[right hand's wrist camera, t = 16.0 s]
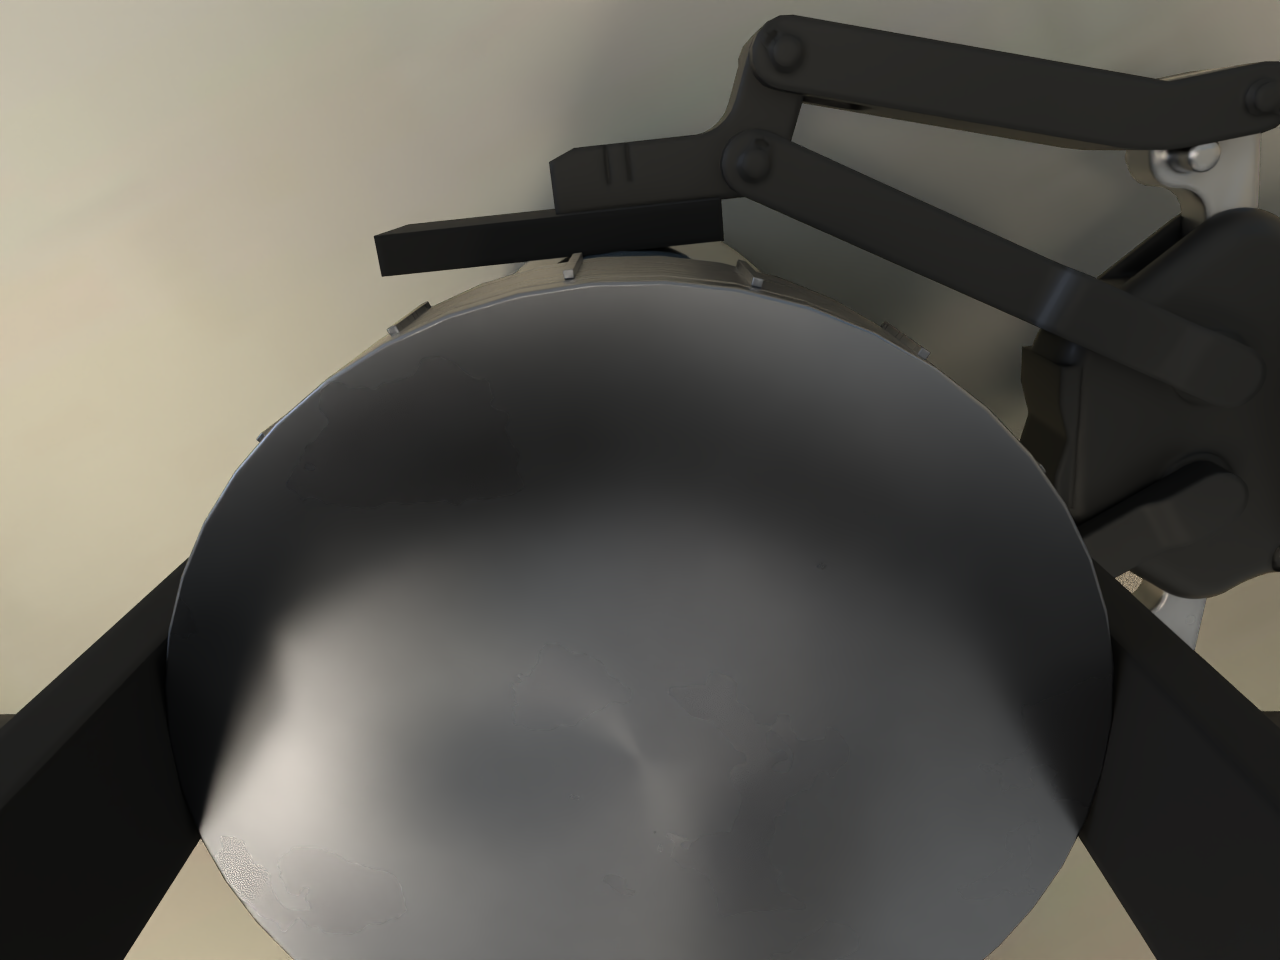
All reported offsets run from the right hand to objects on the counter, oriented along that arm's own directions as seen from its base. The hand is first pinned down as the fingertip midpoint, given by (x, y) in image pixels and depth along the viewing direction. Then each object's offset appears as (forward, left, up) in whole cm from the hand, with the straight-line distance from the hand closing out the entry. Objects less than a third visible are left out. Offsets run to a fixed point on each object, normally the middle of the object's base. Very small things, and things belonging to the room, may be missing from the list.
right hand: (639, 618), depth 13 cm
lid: (0, 0, +3) cm, 3 cm away
